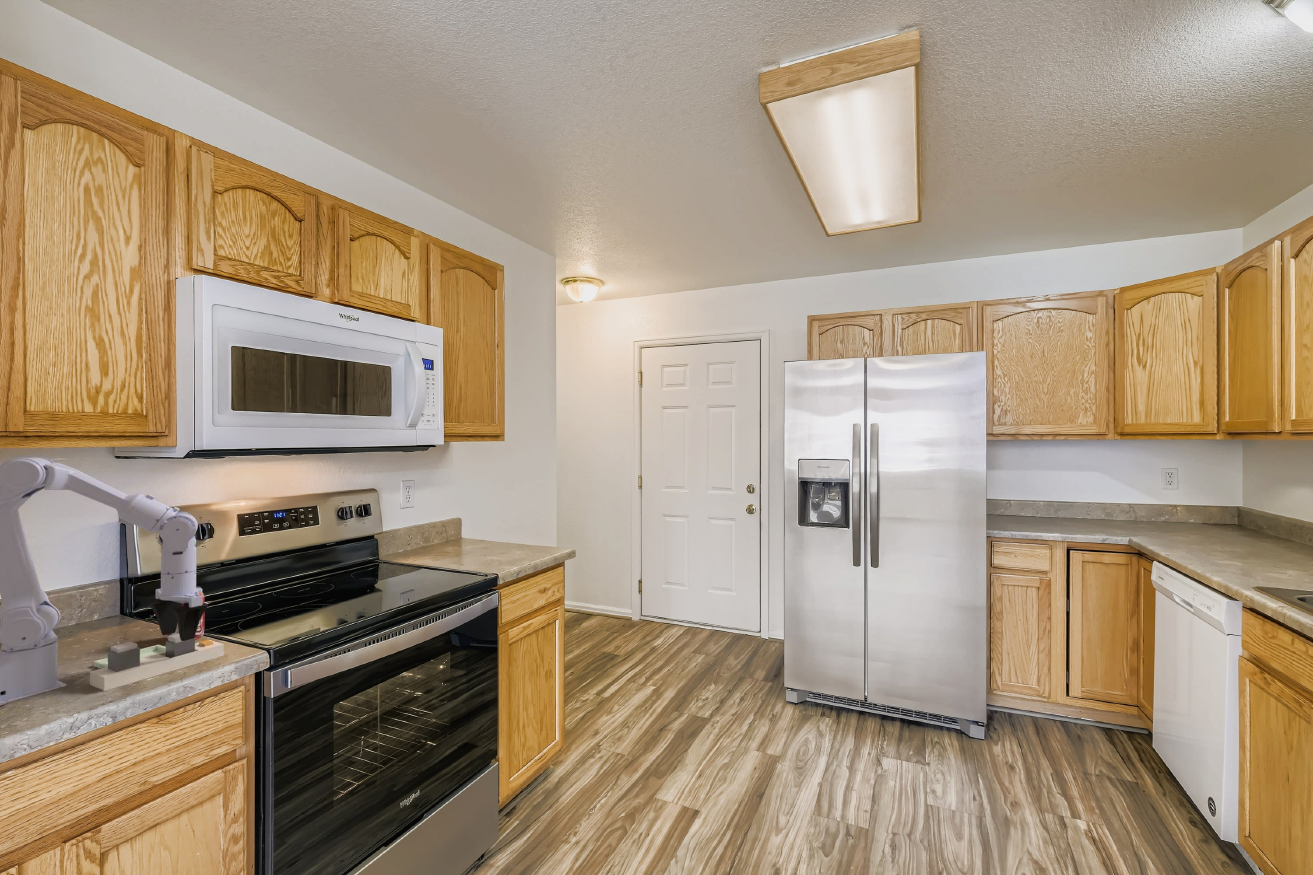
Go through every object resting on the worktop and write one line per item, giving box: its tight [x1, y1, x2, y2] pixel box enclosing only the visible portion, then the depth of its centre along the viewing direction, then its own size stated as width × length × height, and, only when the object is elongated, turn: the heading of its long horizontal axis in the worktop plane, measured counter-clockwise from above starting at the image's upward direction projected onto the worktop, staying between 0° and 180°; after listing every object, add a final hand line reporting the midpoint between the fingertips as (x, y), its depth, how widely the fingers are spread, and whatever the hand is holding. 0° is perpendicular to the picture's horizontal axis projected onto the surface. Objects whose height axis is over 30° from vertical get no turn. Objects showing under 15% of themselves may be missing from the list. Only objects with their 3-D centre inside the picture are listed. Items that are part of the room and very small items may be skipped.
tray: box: [93, 644, 166, 669], centre depth 123 cm, size 11×11×2 cm
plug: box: [165, 633, 196, 658], centre depth 122 cm, size 4×4×6 cm
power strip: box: [89, 639, 225, 692], centre depth 119 cm, size 20×6×7 cm, turn 153°
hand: (178, 636), depth 122 cm, fingers open, 7 cm apart
